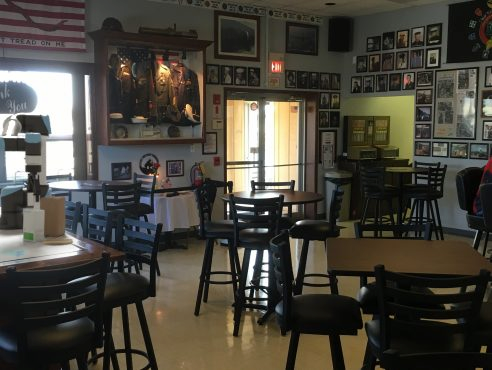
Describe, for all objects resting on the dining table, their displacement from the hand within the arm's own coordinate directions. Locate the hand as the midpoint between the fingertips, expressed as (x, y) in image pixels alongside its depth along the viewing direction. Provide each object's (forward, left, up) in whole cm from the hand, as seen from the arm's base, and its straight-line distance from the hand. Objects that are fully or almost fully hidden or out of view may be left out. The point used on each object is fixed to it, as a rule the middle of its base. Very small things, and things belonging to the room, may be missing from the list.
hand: (33, 207), depth 276 cm
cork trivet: (+10, +9, -17) cm, 21 cm away
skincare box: (0, 0, -17) cm, 17 cm away
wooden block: (-11, +12, -17) cm, 24 cm away
